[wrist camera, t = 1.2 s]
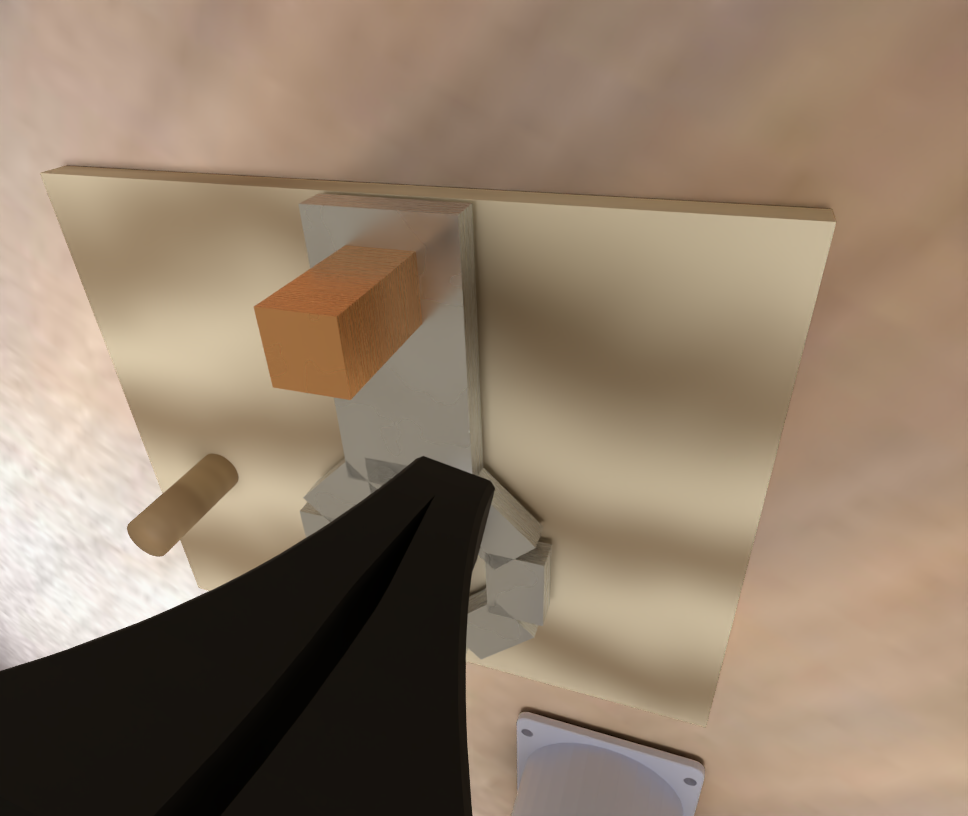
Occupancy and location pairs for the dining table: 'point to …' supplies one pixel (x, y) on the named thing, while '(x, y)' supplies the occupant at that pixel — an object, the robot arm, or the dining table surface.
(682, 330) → the board
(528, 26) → the dining table surface
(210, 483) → the dowel
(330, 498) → the crank
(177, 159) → the dining table surface
